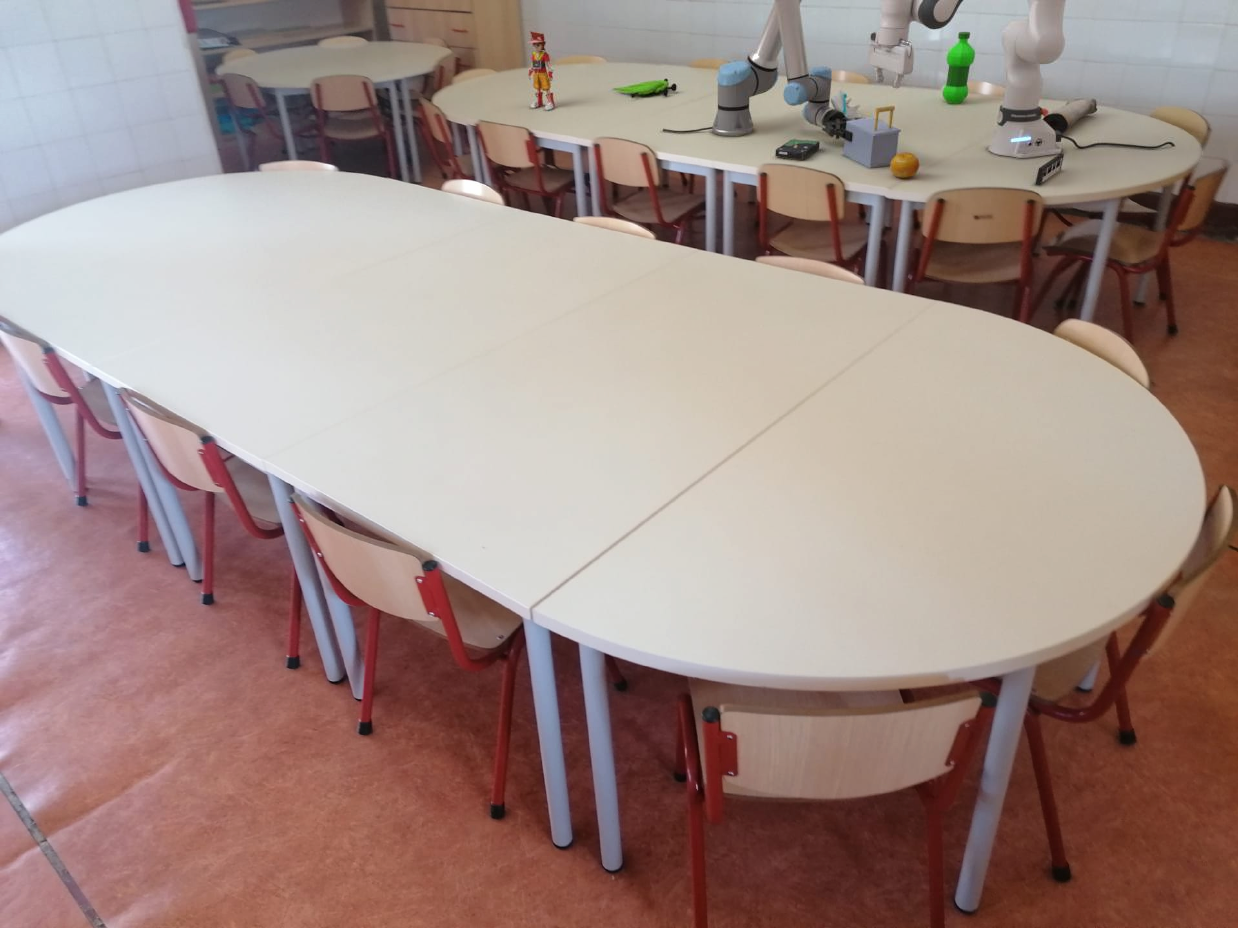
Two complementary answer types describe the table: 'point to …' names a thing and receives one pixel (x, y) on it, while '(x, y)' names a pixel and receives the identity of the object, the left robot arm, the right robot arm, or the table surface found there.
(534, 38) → the toy
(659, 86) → the toy
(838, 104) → the anatomical model
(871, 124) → the lid
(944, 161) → the table surface
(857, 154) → the chest
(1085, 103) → the rolled mat
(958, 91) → the plastic bottle
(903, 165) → the fruit
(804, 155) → the disk drive
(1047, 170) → the midi keyboard
